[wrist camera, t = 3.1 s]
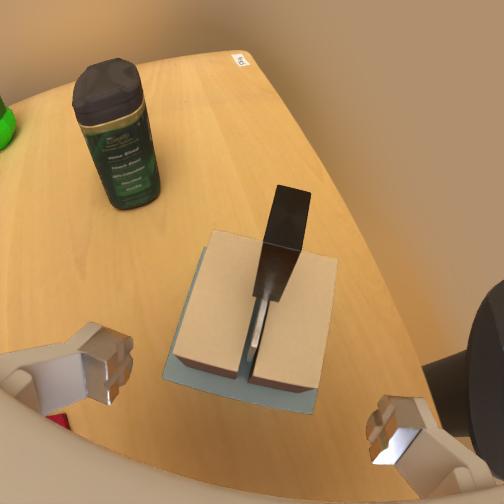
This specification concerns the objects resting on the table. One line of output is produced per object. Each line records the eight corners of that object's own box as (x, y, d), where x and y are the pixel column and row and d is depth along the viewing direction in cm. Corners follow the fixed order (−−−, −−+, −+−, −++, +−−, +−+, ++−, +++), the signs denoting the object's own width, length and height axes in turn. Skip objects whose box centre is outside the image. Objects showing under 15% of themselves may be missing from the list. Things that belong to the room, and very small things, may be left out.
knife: (264, 250, 29) (287, 144, 18) (283, 255, 29) (317, 151, 18) (237, 358, 24) (245, 308, 13) (259, 363, 24) (288, 319, 13)
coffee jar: (167, 201, 41) (143, 82, 25) (112, 218, 40) (63, 108, 23) (154, 154, 45) (134, 46, 29) (105, 168, 44) (70, 66, 27)
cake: (204, 249, 38) (199, 207, 31) (334, 280, 38) (359, 246, 30) (162, 378, 31) (142, 368, 23) (310, 414, 30) (336, 415, 23)
